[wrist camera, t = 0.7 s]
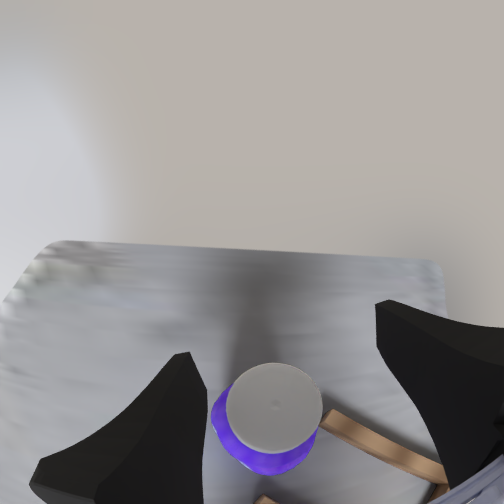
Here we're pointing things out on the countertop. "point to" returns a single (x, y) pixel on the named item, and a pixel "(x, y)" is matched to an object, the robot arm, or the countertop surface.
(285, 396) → the bottle
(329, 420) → the cradle
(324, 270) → the countertop surface
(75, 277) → the countertop surface
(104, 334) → the countertop surface
